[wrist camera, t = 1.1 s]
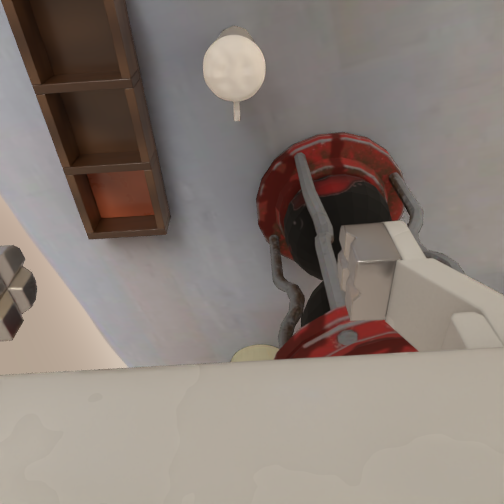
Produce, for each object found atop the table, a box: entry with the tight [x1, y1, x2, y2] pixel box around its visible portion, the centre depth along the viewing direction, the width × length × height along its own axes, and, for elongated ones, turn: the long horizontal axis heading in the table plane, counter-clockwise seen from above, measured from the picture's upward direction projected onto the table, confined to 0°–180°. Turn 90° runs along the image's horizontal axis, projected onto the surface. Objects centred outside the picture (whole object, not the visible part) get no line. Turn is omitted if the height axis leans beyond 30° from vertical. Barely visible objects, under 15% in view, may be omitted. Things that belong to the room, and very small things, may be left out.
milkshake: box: [203, 25, 266, 121], centre depth 33 cm, size 4×5×10 cm
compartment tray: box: [1, 0, 171, 239], centre depth 39 cm, size 24×8×4 cm, turn 3°
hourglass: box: [256, 132, 465, 360], centre depth 37 cm, size 16×16×25 cm
